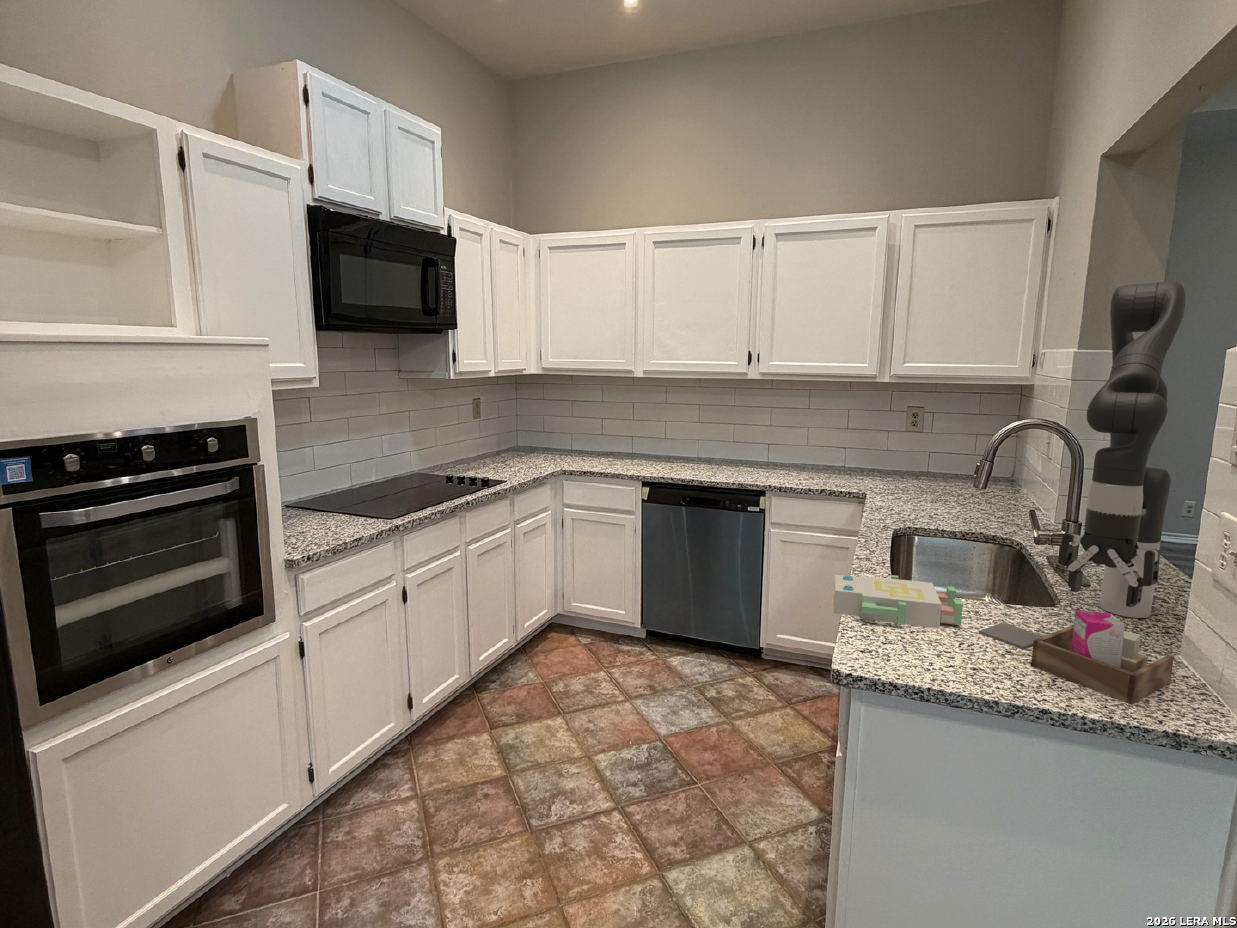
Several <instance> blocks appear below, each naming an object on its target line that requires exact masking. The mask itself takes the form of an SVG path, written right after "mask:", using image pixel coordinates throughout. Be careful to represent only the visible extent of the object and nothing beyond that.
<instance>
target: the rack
mask: <svg viewBox="0 0 1237 928" xmlns="http://www.w3.org/2000/svg"><path fill="white" fill-rule="evenodd" d="M1073 629H1074V624H1071V625H1069V626H1066V627H1064V628H1062V629H1059V630H1057V631H1054V632H1052V633H1049V634H1046V635H1043V636H1044V637H1041V638H1038V639H1036V640H1034V642H1033V646H1032V652H1031V660H1030V661H1031V662H1030V667H1033V668H1036V669H1039V670H1041V671H1044V672H1046V673H1048V674H1052V675H1054V676H1057V677H1058V678H1062V679H1064V680H1067V681H1070V682H1073V683H1075V684H1077V685H1080V686H1083V687H1086V688H1088V689H1090V690H1093V691H1095V692H1099V693H1101V694H1103V695H1107V696H1109V697H1112V698H1114V699H1116V700H1120V701H1122V702H1124V703H1128V704H1130V705H1134V704H1135V703H1137V702H1139V701H1141V700H1143V699H1144V698H1146V697H1148V696H1149V695H1151V694H1154V693H1155V692H1157V691H1158V690H1160V689H1163V688H1164V687H1166V686H1167V685H1169V684H1171V681H1172V680H1171V679H1172V673H1173V667H1174V661H1175V660H1174V658H1175V656H1174V655H1171V654H1167V655H1165V656H1163V657H1161V658H1159V659H1158V660H1155V661H1154V662H1151V663H1150V664H1148V665H1147V666H1145V667H1143V668H1141V669H1139V670H1138V671H1136V672H1134V673H1132V672H1129V671H1126V670H1124V669H1121V668H1118V667H1115V666H1112V665H1109V664H1106V663H1103V662H1101V661H1098V660H1095V659H1092V658H1089V657H1086V656H1083V655H1080V654H1078V653H1075V652H1072V651H1071V648H1072V639H1073Z"/></svg>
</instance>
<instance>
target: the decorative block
mask: <svg viewBox="0 0 1237 928" xmlns="http://www.w3.org/2000/svg"><path fill="white" fill-rule="evenodd" d="M833 590H834V593H833V614H837V615H844V616H845V615H846V616H852V617H853V616H854V617H860V620H868V621H876V622H882V623H883V622H884V623H885V622H886V623H891V624H900V625H908V626H909V625H910V626H917V627H926V628H935V629H940V628H941V624H948V625H957V626H962V618H963V608H964V607H963V606H964V604H963V602H962V600H961V599H958V598H957V599H956V594H957V591H956V588H955V586H949V585H948V586H946V593H942V592H937V591H936V588H935V586H934V584H933V582H930V581H929V582H928V581H918V580H917V581H916V580H910V579H909V580H907V579H899V575H892V574H891V578H888V577H886V578H885V577H878V576H877V577H876V576H868V575H867V576H866V575H860V576H852V575H849V574H845V575H841V574H840V575H839V574H838V575H837V574H835V575H834V589H833ZM843 613H844V614H843Z"/></svg>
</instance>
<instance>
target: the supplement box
mask: <svg viewBox="0 0 1237 928" xmlns="http://www.w3.org/2000/svg"><path fill="white" fill-rule="evenodd" d="M1073 625H1074V629H1073V639H1072V648H1071V651H1072V652H1075V653H1078V654H1080V655H1083V656H1086V657H1089V658H1092V659H1095V660H1098V661H1101V662H1103V663H1106V664H1109V665H1112V666H1115V667H1118V668H1120V665H1121V655H1122V646H1123V637H1124V631H1125V627H1126V625H1125V623H1123V622H1122V621H1121V620H1120V619H1118V618H1117V617H1116V616H1114V614H1113V613H1110V612H1097V611H1084V610H1075V612H1074V621H1073Z"/></svg>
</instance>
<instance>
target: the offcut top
mask: <svg viewBox="0 0 1237 928" xmlns="http://www.w3.org/2000/svg"><path fill="white" fill-rule="evenodd" d="M1141 639H1142V635H1141V634H1139V633H1134V632H1130V631H1126V630H1124V637H1123V646H1122V655H1121V656H1122V657H1126V658H1129V659H1133V658H1134V657H1135V656H1136V655H1137V654H1138V653H1139V651H1140V644H1141ZM1139 654H1140V653H1139Z"/></svg>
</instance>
